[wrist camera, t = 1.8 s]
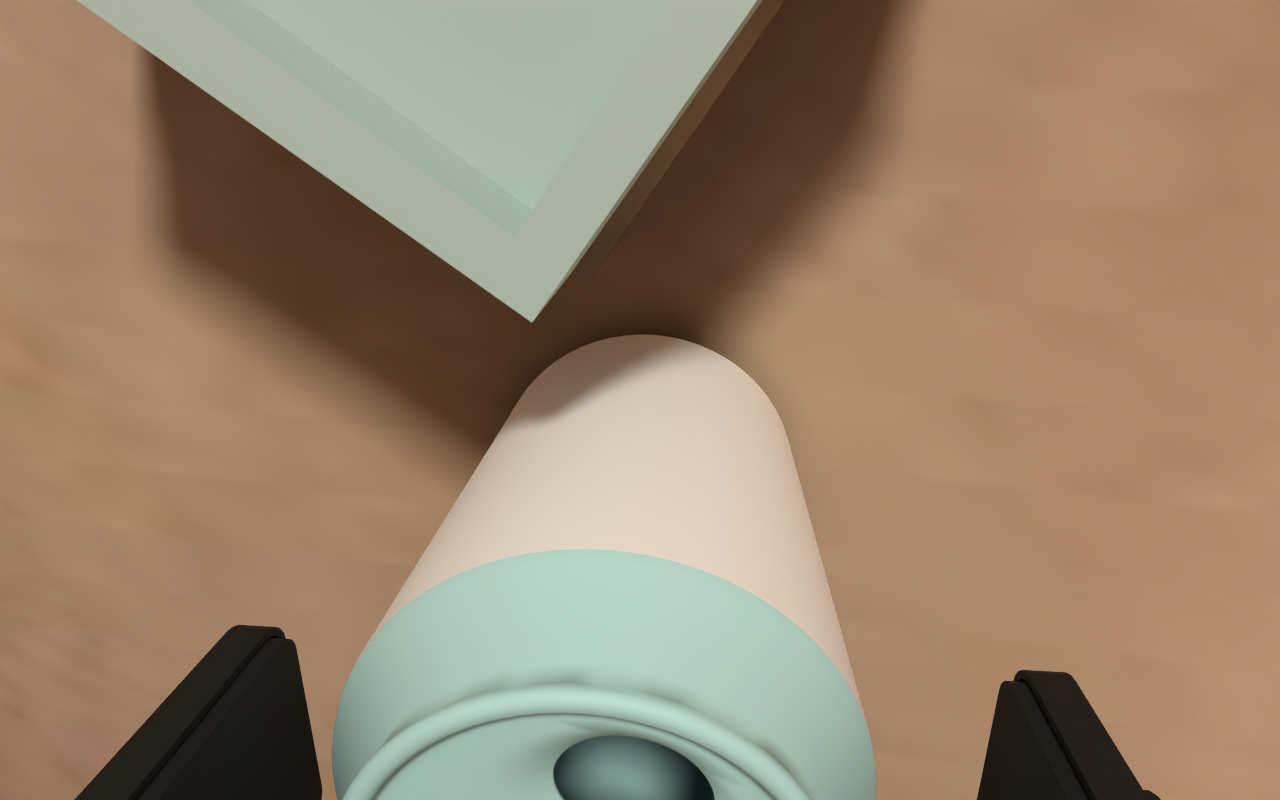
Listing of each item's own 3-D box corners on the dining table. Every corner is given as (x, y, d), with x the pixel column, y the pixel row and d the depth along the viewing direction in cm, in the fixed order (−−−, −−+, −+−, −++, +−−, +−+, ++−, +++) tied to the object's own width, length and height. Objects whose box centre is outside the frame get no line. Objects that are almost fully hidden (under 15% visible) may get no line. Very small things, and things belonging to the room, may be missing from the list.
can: (468, 368, 19) (152, 721, 8) (750, 292, 18) (836, 578, 7) (557, 608, 22) (405, 1148, 10) (815, 553, 20) (960, 1090, 9)
